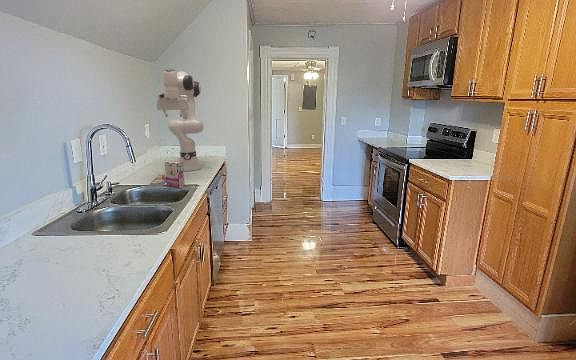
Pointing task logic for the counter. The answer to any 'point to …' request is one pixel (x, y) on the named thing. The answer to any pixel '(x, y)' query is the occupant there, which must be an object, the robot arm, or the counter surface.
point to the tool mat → (158, 184)
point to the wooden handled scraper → (159, 179)
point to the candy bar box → (174, 174)
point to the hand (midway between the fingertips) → (174, 116)
